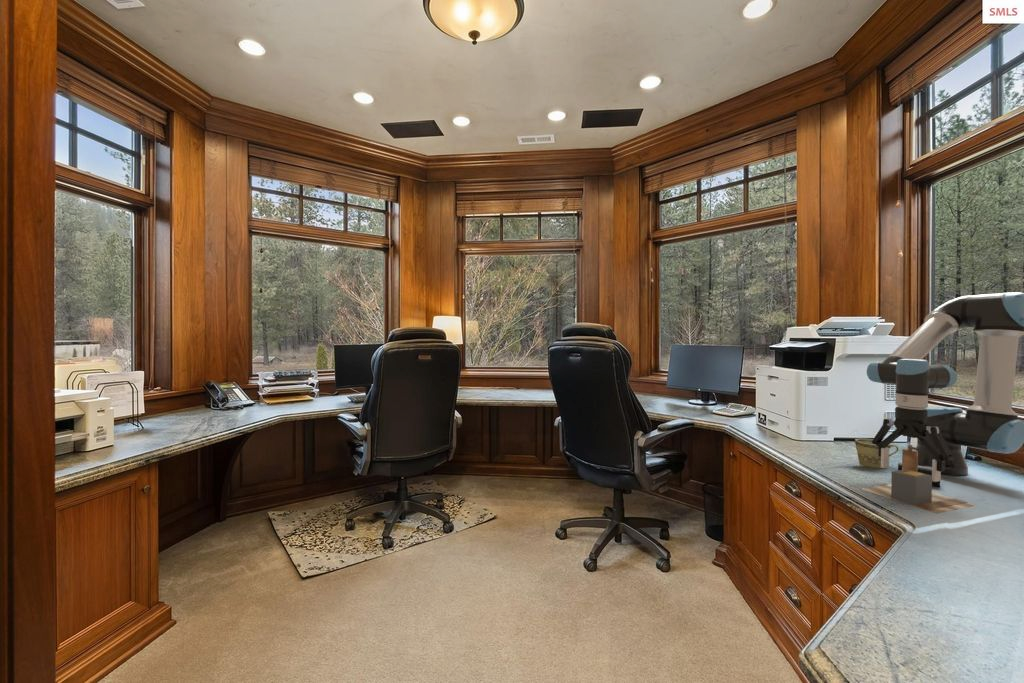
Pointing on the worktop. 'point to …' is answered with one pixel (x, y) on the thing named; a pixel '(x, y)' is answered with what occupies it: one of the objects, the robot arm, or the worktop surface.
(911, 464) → the wooden tool handle
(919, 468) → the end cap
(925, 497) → the grey box with label
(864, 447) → the ceramic cup
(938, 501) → the birch board
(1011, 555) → the worktop surface
